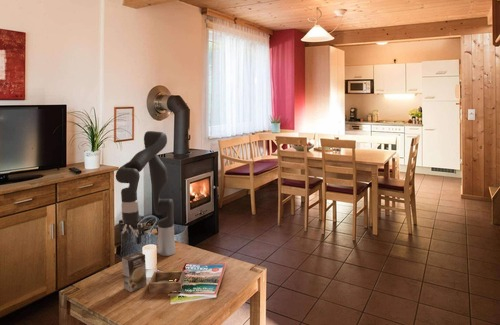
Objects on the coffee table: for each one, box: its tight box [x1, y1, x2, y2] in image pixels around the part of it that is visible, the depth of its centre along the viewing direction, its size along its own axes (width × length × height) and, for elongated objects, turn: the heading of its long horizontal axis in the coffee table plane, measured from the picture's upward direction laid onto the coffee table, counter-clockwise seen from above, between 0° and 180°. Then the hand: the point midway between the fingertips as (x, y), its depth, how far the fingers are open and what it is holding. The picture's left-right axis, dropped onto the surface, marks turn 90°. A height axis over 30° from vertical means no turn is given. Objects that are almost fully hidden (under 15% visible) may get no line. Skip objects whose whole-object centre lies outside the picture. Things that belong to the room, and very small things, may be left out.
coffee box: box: [121, 251, 147, 293], centre depth 179 cm, size 9×6×16 cm
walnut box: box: [148, 270, 186, 294], centre depth 180 cm, size 15×12×5 cm
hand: (132, 242), depth 177 cm, fingers open, 8 cm apart
